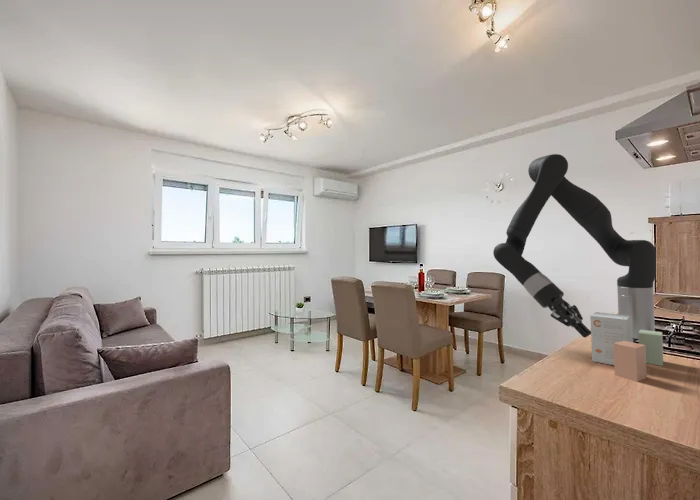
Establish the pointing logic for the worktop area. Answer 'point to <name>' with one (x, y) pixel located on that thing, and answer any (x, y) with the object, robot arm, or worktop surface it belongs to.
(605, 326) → the small box
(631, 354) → the terracotta block
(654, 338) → the sage block
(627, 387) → the worktop surface
